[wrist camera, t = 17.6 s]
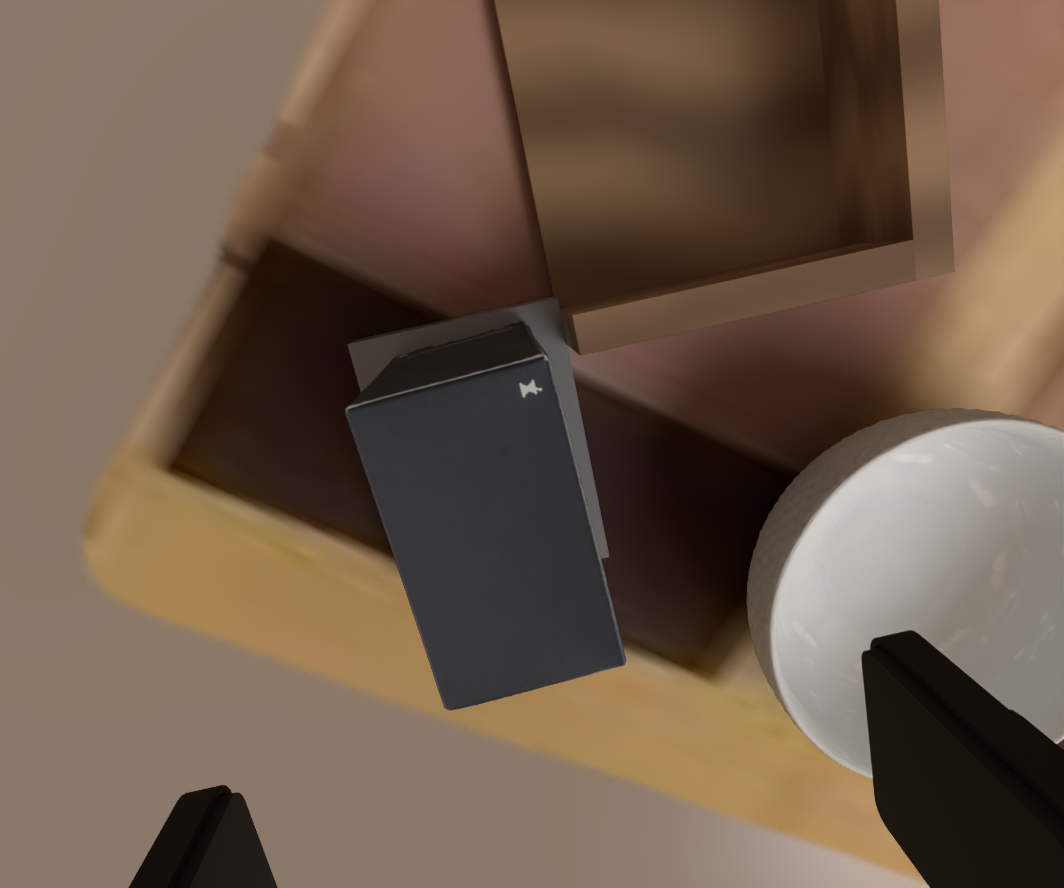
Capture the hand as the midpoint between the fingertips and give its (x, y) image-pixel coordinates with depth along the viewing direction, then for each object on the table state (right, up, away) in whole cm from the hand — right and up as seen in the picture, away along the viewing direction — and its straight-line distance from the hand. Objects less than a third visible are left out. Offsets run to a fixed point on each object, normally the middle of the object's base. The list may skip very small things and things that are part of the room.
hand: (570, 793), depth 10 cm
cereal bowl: (+17, 0, +26) cm, 31 cm away
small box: (-3, +5, +21) cm, 22 cm away
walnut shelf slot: (+5, +19, +20) cm, 28 cm away
